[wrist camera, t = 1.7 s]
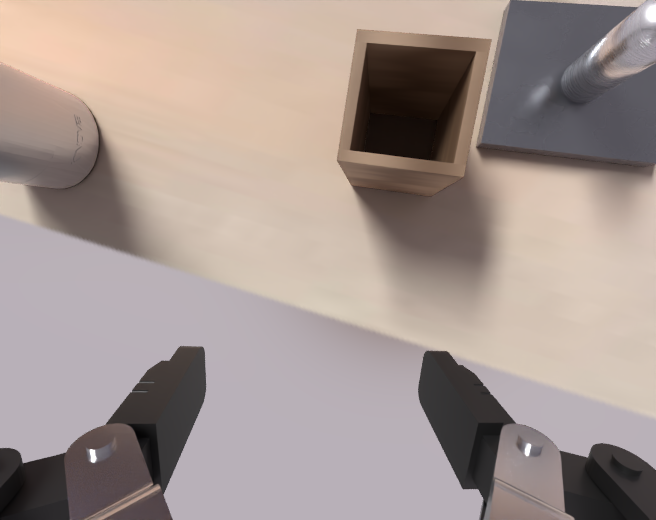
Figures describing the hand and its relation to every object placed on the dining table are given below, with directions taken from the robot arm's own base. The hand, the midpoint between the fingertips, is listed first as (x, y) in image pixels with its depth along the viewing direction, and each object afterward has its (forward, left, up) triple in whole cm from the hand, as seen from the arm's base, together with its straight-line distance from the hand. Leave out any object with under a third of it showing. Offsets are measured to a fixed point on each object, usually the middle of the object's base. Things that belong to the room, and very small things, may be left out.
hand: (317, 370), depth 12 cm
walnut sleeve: (+2, +12, -16) cm, 20 cm away
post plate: (+14, +18, -16) cm, 28 cm away
